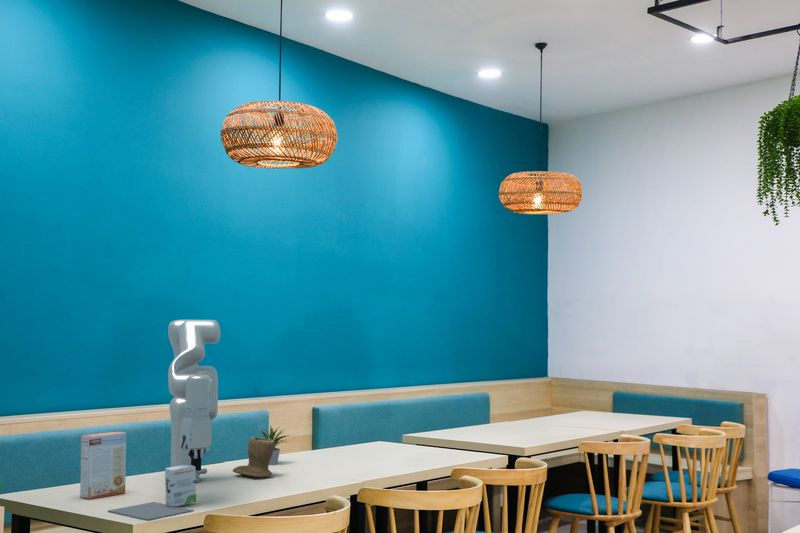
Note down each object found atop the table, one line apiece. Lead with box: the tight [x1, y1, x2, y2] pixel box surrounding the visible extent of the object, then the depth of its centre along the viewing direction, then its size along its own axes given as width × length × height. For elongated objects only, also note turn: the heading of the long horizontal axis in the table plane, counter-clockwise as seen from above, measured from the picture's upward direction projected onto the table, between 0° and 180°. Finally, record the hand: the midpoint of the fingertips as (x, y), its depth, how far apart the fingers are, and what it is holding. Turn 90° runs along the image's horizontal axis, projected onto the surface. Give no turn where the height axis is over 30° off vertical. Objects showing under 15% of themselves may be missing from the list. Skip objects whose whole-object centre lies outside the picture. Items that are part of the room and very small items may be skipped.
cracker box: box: [79, 430, 127, 500], centre depth 292 cm, size 14×6×21 cm, turn 140°
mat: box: [107, 501, 195, 521], centre depth 266 cm, size 17×20×1 cm
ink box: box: [164, 464, 197, 507], centre depth 276 cm, size 9×5×12 cm, turn 131°
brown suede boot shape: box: [232, 436, 276, 478], centre depth 331 cm, size 15×12×15 cm
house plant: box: [260, 425, 291, 466], centre depth 359 cm, size 14×14×16 cm
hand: (195, 470), depth 280 cm, fingers closed
